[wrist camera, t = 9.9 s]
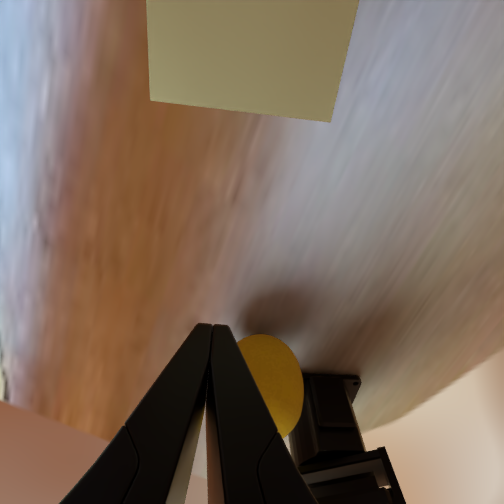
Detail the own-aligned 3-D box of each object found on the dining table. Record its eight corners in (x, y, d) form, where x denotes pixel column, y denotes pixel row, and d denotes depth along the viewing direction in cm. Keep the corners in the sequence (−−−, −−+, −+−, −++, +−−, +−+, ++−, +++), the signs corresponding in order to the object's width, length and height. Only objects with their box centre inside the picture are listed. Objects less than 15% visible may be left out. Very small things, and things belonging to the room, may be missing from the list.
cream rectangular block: (296, 89, 15) (330, 122, 10) (181, 75, 15) (150, 100, 9) (323, -62, 13) (390, -134, 7) (183, -87, 12) (138, -185, 7)
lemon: (206, 335, 25) (196, 444, 19) (264, 299, 24) (276, 404, 17) (252, 370, 28) (257, 478, 21) (308, 340, 26) (333, 446, 19)
